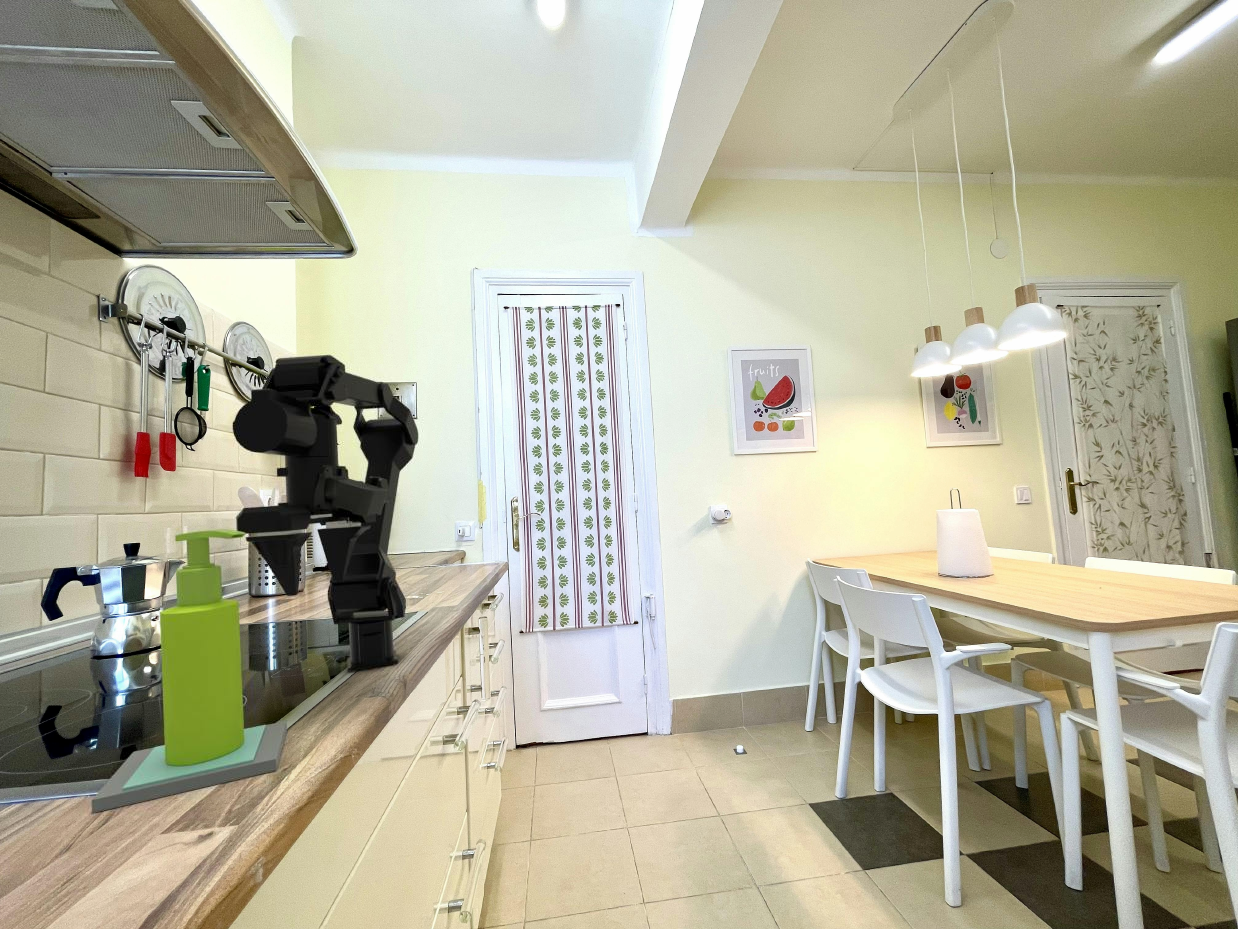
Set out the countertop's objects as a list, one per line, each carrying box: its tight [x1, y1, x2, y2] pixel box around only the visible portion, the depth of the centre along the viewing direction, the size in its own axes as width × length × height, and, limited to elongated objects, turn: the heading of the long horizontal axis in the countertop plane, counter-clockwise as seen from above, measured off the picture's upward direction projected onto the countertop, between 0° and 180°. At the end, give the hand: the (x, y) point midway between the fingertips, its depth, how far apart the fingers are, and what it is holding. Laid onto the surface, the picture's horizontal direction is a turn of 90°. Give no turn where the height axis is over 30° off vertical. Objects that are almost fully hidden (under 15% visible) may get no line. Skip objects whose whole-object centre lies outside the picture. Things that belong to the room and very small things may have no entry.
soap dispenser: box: [159, 529, 247, 766], centre depth 54 cm, size 6×7×20 cm
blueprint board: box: [91, 720, 288, 814], centre depth 53 cm, size 10×12×1 cm
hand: (317, 588), depth 70 cm, fingers open, 9 cm apart
